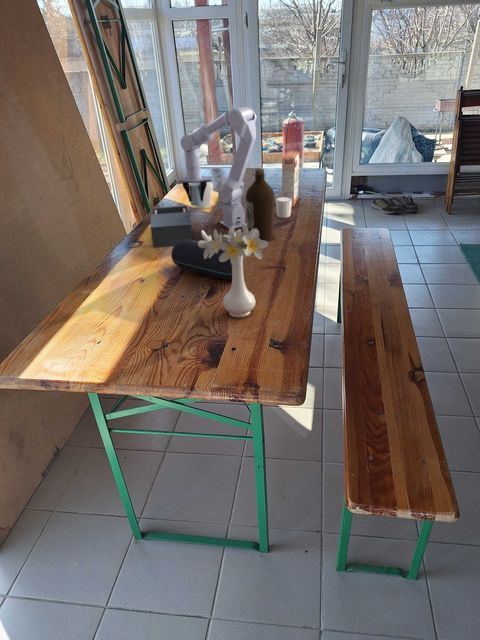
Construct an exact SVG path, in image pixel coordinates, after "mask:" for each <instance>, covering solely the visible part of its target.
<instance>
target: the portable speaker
mask: <svg viewBox="0 0 480 640" xmlns="http://www.w3.org/2000/svg"><path fill="white" fill-rule="evenodd" d="M199 241H200V240H197V239H196V240H195V239H193V240H190V239H185V240H181V241H179V242H177V243H176V244H175V245H174V246H172V249H171V255H170V256H171V261H172V262H173V264H174V265H175V266H177V268H180V269H182V270H185V271H189V272H194V273H197V274H201V275H205V276H208V277H212V278H216V279H219V280H220V279H221V280H224V281H232V264H231V261H230V258H231V257H230V258H229V259H228V260H227V261H225V262H220V261H219V257H220V256H221V254H222V253H224V252H226V251H223V250H222V249H219V251H218V253H214V254H213V256H212V257H211V258H209V254H210V252H209V254H208V256H207V258H206V259H204V251H205V249H206V248H200V247H199V246H198V242H199ZM213 249H215V248H213ZM244 261H245V260H244V258H243V265H244V263H245V262H244Z"/></svg>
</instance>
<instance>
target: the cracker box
mask: <svg viewBox="0 0 480 640" xmlns="http://www.w3.org/2000/svg"><path fill="white" fill-rule="evenodd" d="M300 152H301V151H295V150H294V151H292V150H291V151H289V150H288V151H286V152H285V154H284V156H283V157H282V158H281V159H282V160H281V197H289V198H291V199H292V205H291V208H294V207H295V205H296V203H297V201H298V199H299V177H300V155H301V154H300Z"/></svg>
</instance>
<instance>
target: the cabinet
mask: <svg viewBox="0 0 480 640" xmlns="http://www.w3.org/2000/svg"><path fill="white" fill-rule="evenodd" d="M150 233H151V240H152V248H161V247H162V248H163V247H164V248H165V247H173V246H174V245H175V244H176V243H177V242H179V241H181V240H185V239H190V240H194V238H193V228H192V220H191V215H190V211H187V212H180V213H166V214H154V213H153V214H150Z"/></svg>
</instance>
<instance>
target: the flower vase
mask: <svg viewBox="0 0 480 640" xmlns="http://www.w3.org/2000/svg"><path fill="white" fill-rule="evenodd" d="M241 228H242V230H241V229H238V230H236V231H235V228H234V227H233V226H232V227H231V228H230V229H229V228H228V232H227V234H222V233H221V232H220V233H218V231H217V229H214V230H213V238H212V235H211V234H209V235H208V234H206V232H205V230H203V229H201V231H200V232H201V233H200V235H201V237H202V239H203V240H198V241H199V242H198V246H199V247H200V248H206V249H205V251H204V259H206V258H207V256H208V254H209V252H210V254H209V258H211V257H212V256H213V254H214V253H218V251H219V249H222V250H223V251H226V252H224V253H222V254H221V256H220V257H219V261H220V262H225V261H227V260H228V259H229V258H230V257H231V258H230V261H231V264H232V280H231V285H230V288H229V290H228V291H227V292H226V294H225V295H224V296H223V298H222V306H223V308H224V310H225V311H226V312H228V314H229V316H231V317H234V318H245V317H247V316H249V315H250V314H251V311H252V310H254V308H255V306H256V304H257V302H256V298H255V296H254V294H253V293H252V292H251V291H250V290H249V289H248V288H247V286H246V284H245V283H246V282H245V276H244V264H243V259H244V255H245V256H246V257H249V256H251V255H252V254H254V256H255V257H256V258H257V259H258V260H263V253H262V251H261V250H262V249H265V248H267V247H268V246H269V242H268V240H267V241H264V240H261V239H259V231H258V230H257V229H256V228H254V229H252V230H251V231H250V232H249V230H248V226H246V225H245V224H242V227H241ZM242 231H243V232H242ZM248 233H249V234H248ZM212 239H213V240H212ZM240 245H242V246H240ZM213 248H215V249H213Z"/></svg>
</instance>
